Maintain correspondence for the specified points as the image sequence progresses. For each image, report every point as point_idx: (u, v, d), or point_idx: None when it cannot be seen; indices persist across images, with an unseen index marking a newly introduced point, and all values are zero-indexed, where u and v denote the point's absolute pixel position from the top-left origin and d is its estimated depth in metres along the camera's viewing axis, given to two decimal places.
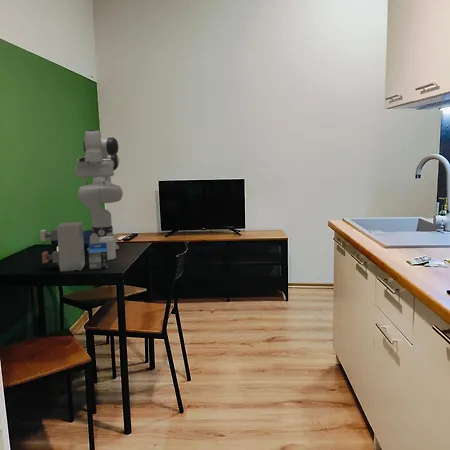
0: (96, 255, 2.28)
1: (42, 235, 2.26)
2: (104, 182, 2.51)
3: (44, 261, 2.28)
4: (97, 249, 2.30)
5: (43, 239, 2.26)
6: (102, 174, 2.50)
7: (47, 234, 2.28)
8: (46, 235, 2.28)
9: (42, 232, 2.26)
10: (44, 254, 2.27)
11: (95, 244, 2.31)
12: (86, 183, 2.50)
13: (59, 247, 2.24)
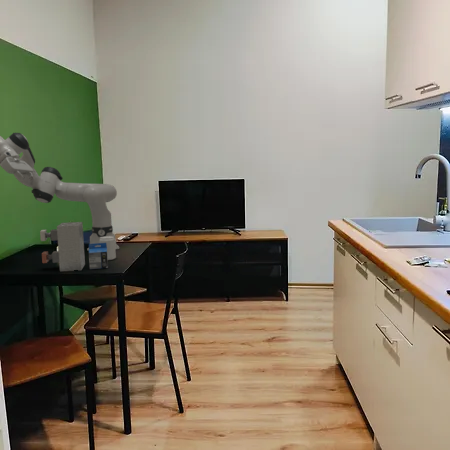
0: (96, 255, 2.28)
1: (42, 235, 2.26)
2: (33, 176, 2.37)
3: (44, 261, 2.28)
4: (97, 249, 2.30)
5: (43, 239, 2.26)
6: (27, 169, 2.36)
7: (47, 234, 2.28)
8: (46, 235, 2.28)
9: (42, 232, 2.26)
10: (44, 254, 2.27)
11: (95, 244, 2.31)
12: (23, 176, 2.27)
13: (59, 247, 2.24)
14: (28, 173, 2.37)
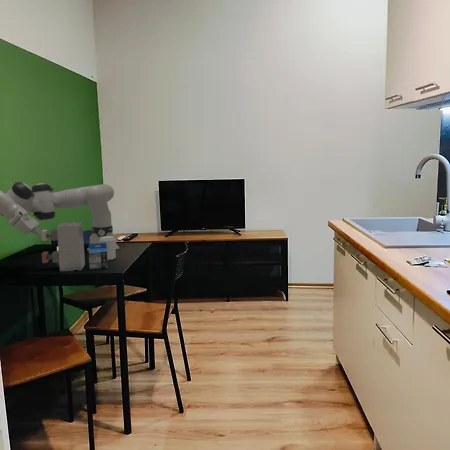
0: (96, 255, 2.28)
1: (43, 235, 2.26)
2: (40, 232, 2.29)
3: (44, 261, 2.28)
4: (97, 249, 2.30)
5: (44, 239, 2.26)
6: (36, 224, 2.31)
7: (48, 234, 2.28)
8: (47, 235, 2.28)
9: (43, 232, 2.26)
10: (44, 254, 2.27)
11: (95, 244, 2.31)
12: (40, 233, 2.27)
13: (59, 247, 2.24)
14: None
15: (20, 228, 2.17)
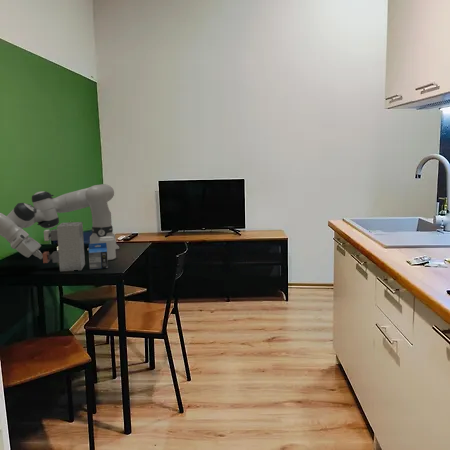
0: (96, 255, 2.28)
1: (46, 235, 2.26)
2: (42, 254, 2.30)
3: (45, 261, 2.28)
4: (97, 249, 2.30)
5: (47, 239, 2.27)
6: (38, 246, 2.32)
7: None
8: (50, 235, 2.28)
9: (46, 232, 2.26)
10: (45, 254, 2.27)
11: (95, 244, 2.31)
12: (41, 255, 2.29)
13: (59, 247, 2.24)
14: (36, 251, 2.30)
15: (22, 251, 2.18)
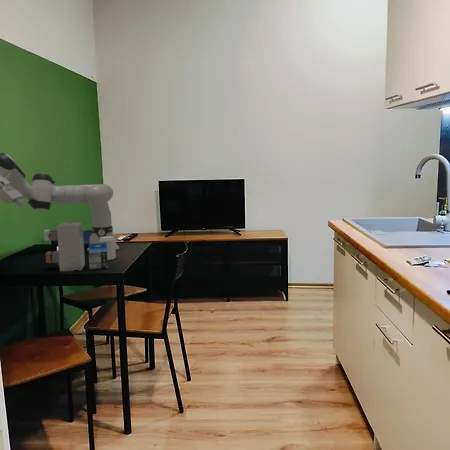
0: (96, 255, 2.28)
1: (46, 235, 2.26)
2: (23, 203, 2.28)
3: (48, 261, 2.28)
4: (97, 249, 2.30)
5: (47, 239, 2.27)
6: (19, 195, 2.30)
7: None
8: (50, 235, 2.28)
9: (46, 232, 2.26)
10: (48, 254, 2.28)
11: (95, 244, 2.31)
12: (23, 203, 2.26)
13: (59, 247, 2.24)
14: (17, 200, 2.27)
15: (2, 197, 2.15)
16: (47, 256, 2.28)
